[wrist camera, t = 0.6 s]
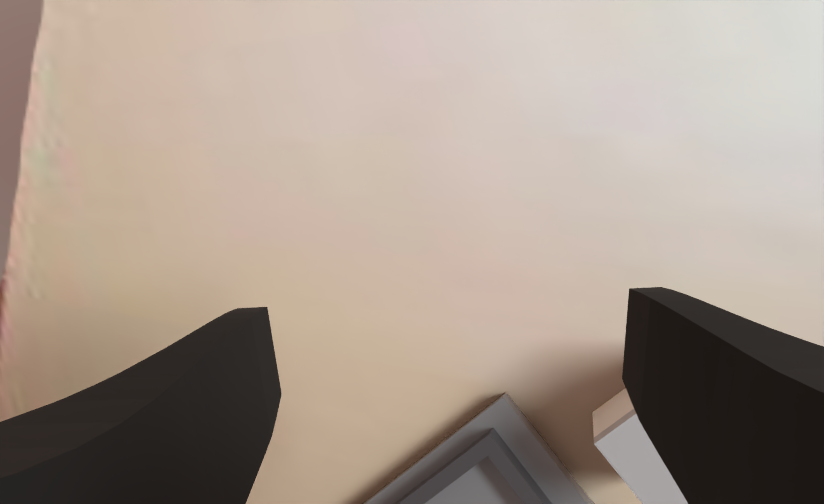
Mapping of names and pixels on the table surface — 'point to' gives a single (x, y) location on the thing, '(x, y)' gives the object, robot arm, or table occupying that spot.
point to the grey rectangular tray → (487, 466)
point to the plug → (633, 452)
